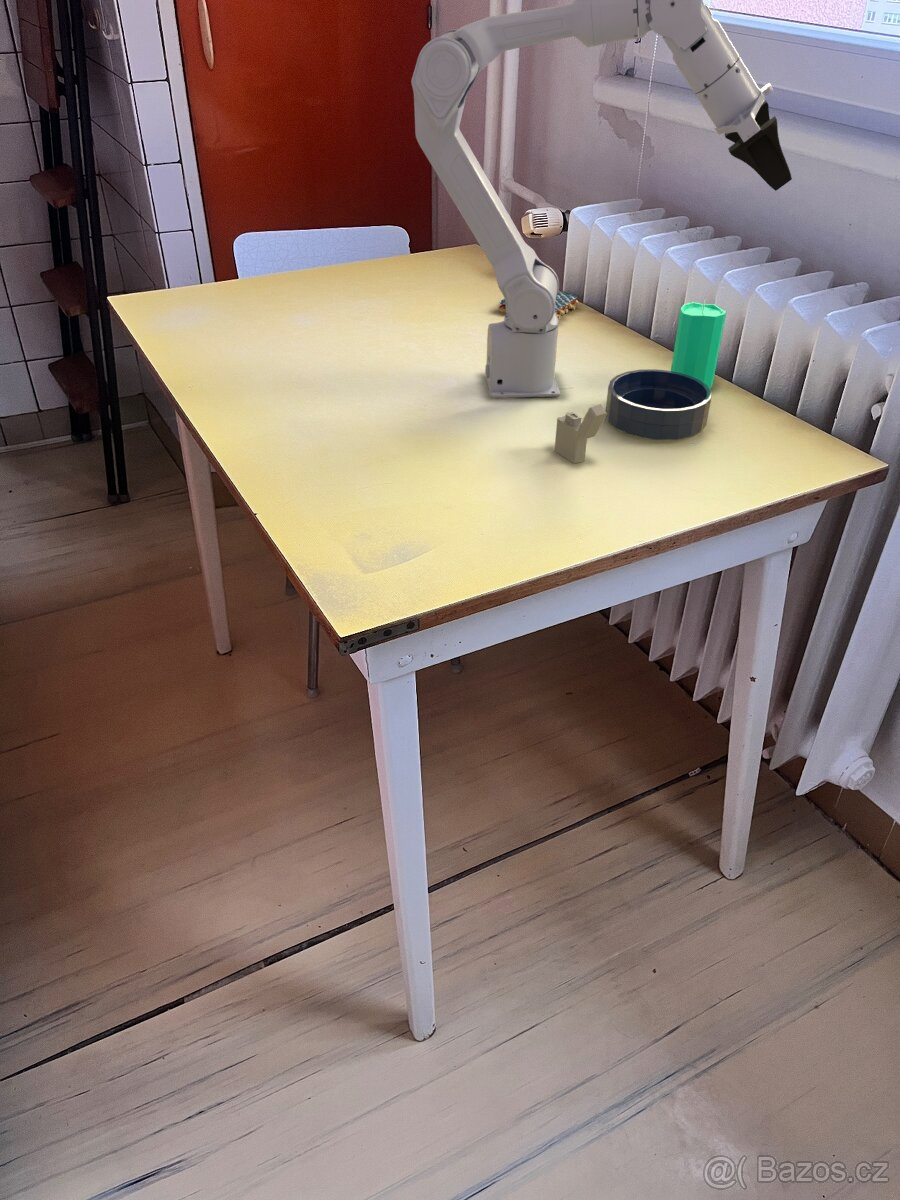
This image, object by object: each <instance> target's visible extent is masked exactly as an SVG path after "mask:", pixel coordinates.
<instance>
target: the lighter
mask: <svg viewBox="0 0 900 1200" xmlns="http://www.w3.org/2000/svg"><path fill="white" fill-rule="evenodd" d="M606 415H607V413H606V409H605V408H604V407H603V406H602V404H597V405H595V406H594V405H593V406H590V407H589V408H588V409H587V412H586V414H585V416H584V417H583V419H582V416H580V415H579V414H578V413H575V412H574V411H571V412H569V411H568V412H566V413H565V415H561V416H558V417H557V418H556V430H555V441H554V452H556V453H557V454H559V456H561V457H563V458H564V459H566V460H567V461H568V462H570V463H572V464H575V465H576V464H579V463H583V462H585V460H586V453H587V444H588V439H591V438H594V437H596V435H597V433H598V431H599V430H600V428H601V426H602V424H603V423H604V421H605V419H606Z"/></svg>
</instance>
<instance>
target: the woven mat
mask: <svg viewBox="0 0 900 1200" xmlns="http://www.w3.org/2000/svg"><path fill="white" fill-rule="evenodd" d="M579 303H580V302H579V300H578V296H577V295H574V293H573V292H571V293H570V294H569V293H565V291H561V292H559V291H558V294H557V296H556V301H555V313H554V314H555V315H556V317H557V318H558V320H561V318H562V317H561V316H562V315H565V313H566V314H568V312H569V310H576V306H578V305H579ZM499 304H500V305H499V307H498V312H499V313H506V303H505V298H503V299H501V300H500V302H499Z"/></svg>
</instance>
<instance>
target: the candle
mask: <svg viewBox="0 0 900 1200" xmlns="http://www.w3.org/2000/svg"><path fill="white" fill-rule="evenodd" d="M703 300H704V301H703V303H700V302H694V301H691V302H690V301H689V302H688V303H685V304H682V306H681V307H680V310H679V316H678V322H677V328H676V335H675V341H674V346H673V347H674V348H673V354H672V360H671V365H670V371H673V372H677V373H682V374H686V375H688V376H691V377H694V378H696V379H698V380H700V381H702V382H703V383H705V384H706V385H707V386H708V387H709V389H710V390H711V388H712V387H713V386H714V385H713V384H714V380H715V374H716V370H717V364H718V359H719V353H720V348H721V342H722V337H723V332H724V326H725V321H726V315H727V311H726V310H724V309H722V308H721V307H719V306H718V305H716V304H715V303H706V300H707V297H704V299H703Z"/></svg>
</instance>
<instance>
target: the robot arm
mask: <svg viewBox="0 0 900 1200" xmlns="http://www.w3.org/2000/svg"><path fill="white" fill-rule="evenodd" d="M651 31H652V32H654V33H655V34H656V35H659V36H661V37H662V39H663V41H664V42H665V44H666V45H667V47H668V49H669V51H671V54H672V61H673V62H674V64H675V65H676V67H677V68H678V69H679V71H680V73H681V74H682V76H683V78H684V79H685V81H686V83H687V84H688V85H689V87H690V88H691V90H692V92H693V94H694V95H695V97H696V98H697V99H698V101H699V103H700V104H701V106H702V108H703V109H704V111H705V113H706V114H707V116H708V117H709V119H710V121H711V122H712V123H713V125H714V131H715V132H716V133H717V134H718V135H722V134H724V139H727V140H729V141H730V142H732V143H733V144H731V146H729V147H728V152H729V154H730V155H731V156H732V157H734V158H735V159H738V160H740V161H741V162H743V163H744V164H746V165H748V166H749V167H750V168H752V170H754V172H756V174H757V175H758V176H759V177H760V178H761V179H762V180H763V181H764V182H765V183H766V184H767V185H768V186H769V187H770V188H771V189H772V190H774V191H775V192H776V191H778V190H780V189H781V188H782V187H784V186H785V185H786V184H788V183H789V182H791V181H792V180H793V178H792V173H791V170H790V167H789V165H788V162H787V160H786V157H785V155H784V152H783V149H782V146H781V143H780V138H779V129H778V119H777V116H775V115H774V116H773V117H770V107H769V103H768V102H767V100H766V98H767V97H768V96H769V95H770V94H771V93H773V91H774V88H773V85H772V84H771V83H770V82H769V83H767V84H765V85H763V87H761V88H759V86H758V85H757V83H756V81H755V80H754V78H753V76H752V74H751V73H750V71H749V69H748V67H747V66H746V65H745V63H744V61H743V59H742V58H741V56H740V55H739V53H738V51H737V49H736V48H735V46H734V45H733V43H732V41H731V39H730V38H729V37H728V34H727V33H726V31H725V30H724V28H723V26H722V25H721V23H720V21H719V20H718V19H715V18H714V17H713V12H712V11H711V9H710V7H709V6H708V5H707V4H705V3H704V2H703V1H702V0H573V2H572V3H569V4H562V5H556V6H550V7H541V8H535V9H529V10H523V11H517V12H511V13H510V12H509V13H503V14H496V15H491V16H487V17H484V18H482V19H479V20H477V21H473V22H470V23H467V24H466V25H463V26H461V27H460V28H458V29H455V28H454V29H449V30H446V31H444V32H442V33H441V34H439V35H438V36H437V37H435V38H433V39H431V40H430V41H428V42H426V44H425V45H424V46H423V47H422V48H421V50H420V52H419V54H418V56H417V59H416V63H415V67H414V71H413V74H412V77H411V87H412V93H413V105H414V129H415V131H414V132H415V139H416V141H417V143H418V145H419V148H420V149H421V150H422V152H423V153H424V155H425V157H426V159H427V160H428V161H429V164H430V165H431V167H432V168H433V170H434V172H435V173H436V175H437V177H438V178H439V180H440V182H441V183H442V185H443V187H444V188H445V191H446V192H447V193H448V195H449V197H450V199H451V200H452V202H453V203H454V205H455V207H456V208H457V210H458V211H459V213H460V215H461V216H462V218H463V220H464V221H465V223H466V225H467V226H468V228H469V230H470V232H471V233H472V235H473V236H474V238H475V240H476V241H477V243H478V245H479V246H480V248H481V250H482V251H483V253H484V256H485V257H486V258H487V260H488V262H489V263H490V265H491V266H492V268H493V271H494V275H495V280H496V283H497V287H498V288H499V290H500V292H501V294H502V297H503V299H505V303H506V312H505V313H506V314H505V317H504V319H503V320H502V321H499V322H493V323H489V324H488V326H487V337H486V340H487V341H486V364H485V369H484V371H485V372H484V373H485V379H486V383H487V387H488V392H489V395H490V397H491V398H495V399H496V398H539V397H540V398H541V397H560V396H561V390H560V388H559V386H558V383H557V381H556V378H555V373H556V362H557V361H556V360H557V347H558V335H559V322H560V319H558V318H557V317H556V315H555V314H554V313H555V301H556V296H557V294H558V292H559V291H560V290H559V289H560V281H559V277H558V275H557V273H556V272H555V270H554V269H553V268H552V267H551V266H549V265H548V264H546V263H544V262H543V261H542V260H541V259H540V258H539V257H538V254H537V253H536V251H535V250H534V249H533V248H532V247H531V246H530V245H528V244H527V243H526V242H525V240H524V239H523V236H522V235H521V233H520V231H519V230H518V228H517V226H516V225H515V223H514V221H513V219H512V218H511V216H510V214H509V212H508V211H507V210H506V207H505V206H504V204H503V202H502V200H501V198H500V197H499V195H498V193H497V192H496V189H494V186H493V185H492V183H491V181H490V180H489V178H488V176H487V175H486V173H485V172H484V169H483V168H482V165H481V164H480V162H479V161H478V159H477V157H476V156H475V154H474V152H473V150H472V149H471V147H470V145H469V143H468V142H467V140H466V138H465V136H464V135H463V133H462V131H461V128H460V125H461V122H462V117H463V113H464V108H465V104H466V98H467V96H468V95H469V93H470V91H471V89H472V88H473V86H474V84H475V82H476V79H477V78H478V76H479V74H480V72H481V71H483V70H484V69H485V68H486V67H487V66H488V65H490V64H491V63H492V62H493V61H494V60H496V59H497V58H498V57H499V56H500V55H501V54H503V53H504V52H508V51H511V50H516V49H519V48H520V49H521V48H524V47H529V46H535V45H538V44H544V43H548V42H553V41H557V40H561V39H566V38H572V37H573V38H576V39H577V40H578V41H579V42H580V43H581V44H582V45H583V46H584V47H586V48H592V47H598V46H603V45H609V44H614V43H620V42H625V41H632V40H638V39H643V38H644V37H645V36H646V35H647V34H648V33H649V32H651Z"/></svg>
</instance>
